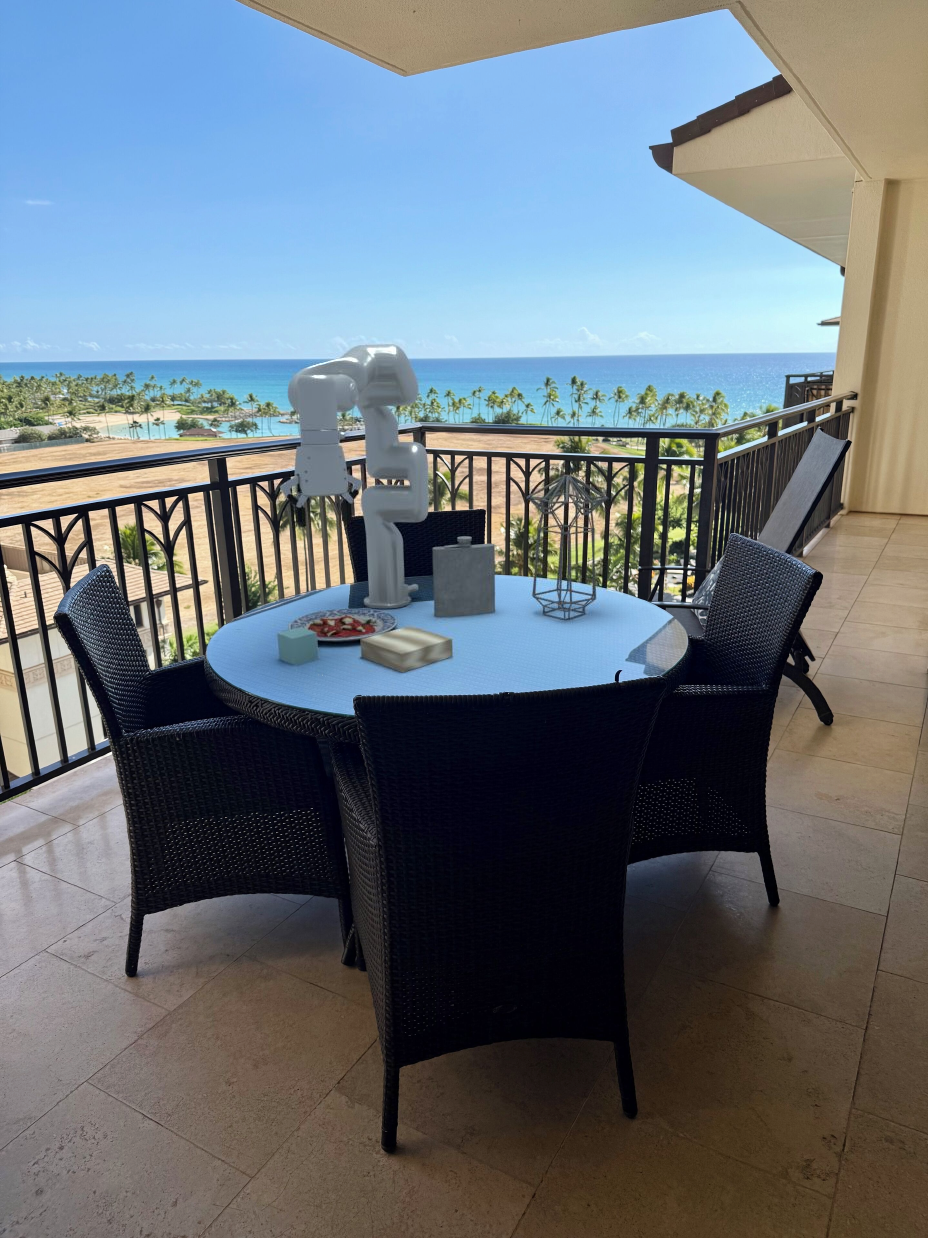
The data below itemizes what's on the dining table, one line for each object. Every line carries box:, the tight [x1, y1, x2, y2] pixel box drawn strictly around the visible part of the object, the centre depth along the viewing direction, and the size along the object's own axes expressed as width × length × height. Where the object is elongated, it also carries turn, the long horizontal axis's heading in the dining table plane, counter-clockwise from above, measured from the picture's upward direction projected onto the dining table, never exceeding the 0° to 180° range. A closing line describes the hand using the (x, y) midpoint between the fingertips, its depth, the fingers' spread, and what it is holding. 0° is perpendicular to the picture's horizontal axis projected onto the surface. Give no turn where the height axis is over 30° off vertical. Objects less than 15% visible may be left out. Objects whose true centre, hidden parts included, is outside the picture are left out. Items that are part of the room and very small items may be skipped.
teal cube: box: [276, 627, 319, 666], centre depth 174 cm, size 6×6×6 cm
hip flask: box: [432, 535, 496, 618], centre depth 204 cm, size 16×4×20 cm, turn 104°
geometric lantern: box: [526, 474, 610, 621], centre depth 201 cm, size 16×16×35 cm
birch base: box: [359, 625, 454, 673], centre depth 175 cm, size 14×14×4 cm
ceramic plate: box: [288, 608, 398, 643], centre depth 194 cm, size 26×26×3 cm
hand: (324, 524), depth 166 cm, fingers open, 9 cm apart
